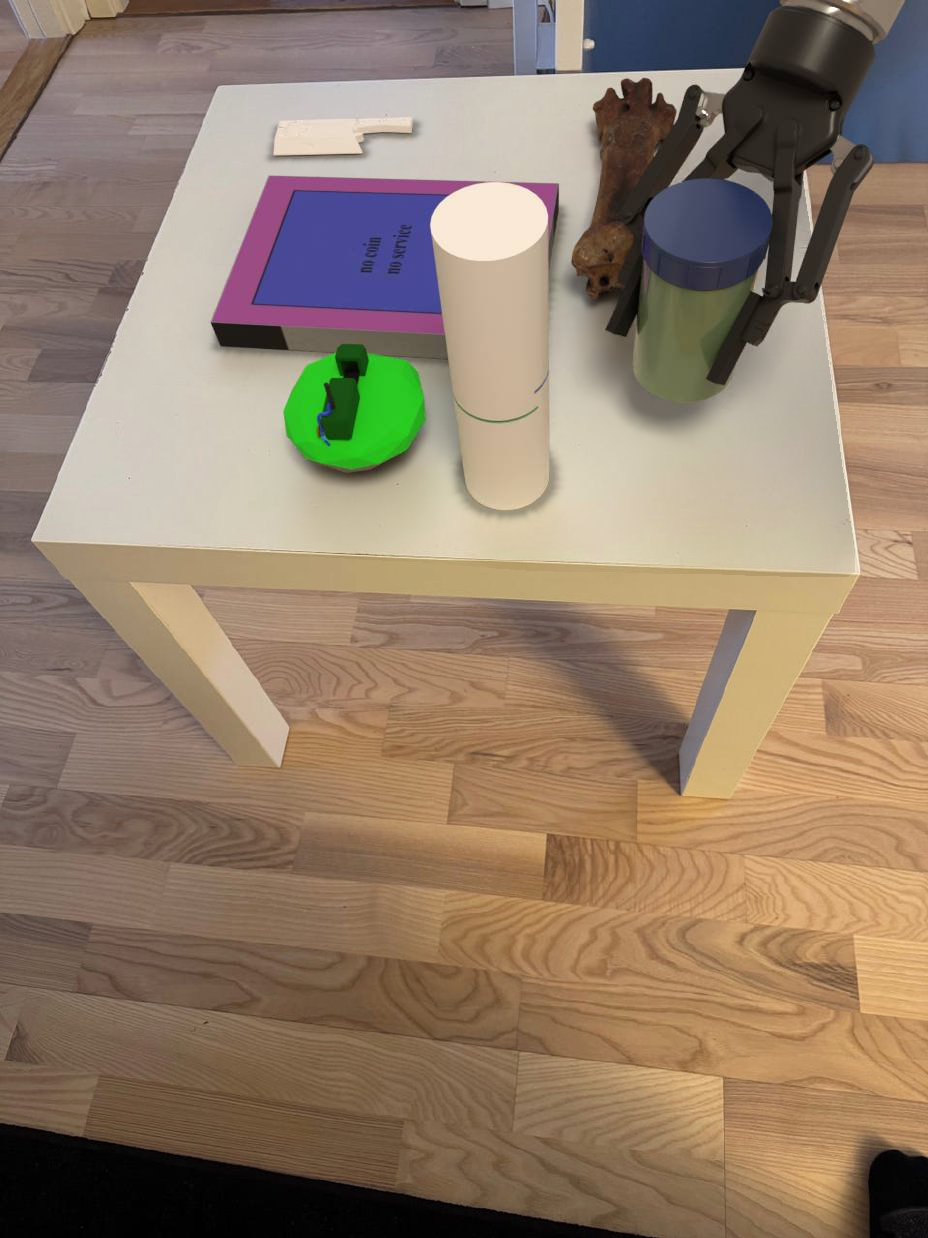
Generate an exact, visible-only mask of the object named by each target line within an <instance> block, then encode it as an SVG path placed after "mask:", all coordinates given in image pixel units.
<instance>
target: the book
mask: <svg viewBox="0 0 928 1238" xmlns="http://www.w3.org/2000/svg"><path fill="white" fill-rule="evenodd" d="M486 182H492V181H485V180H451V179H450V180H447V179H418V178H417V179H415V178H414V179H412V178H381V177H380V178H376V177H375V178H373V177H343V176H342V177H339V176H338V177H337V176H302V175H301V176H299V175H268V176H267V178H266V181H265V184H264V186H263V188H262V191H261V194H260V196H259V199H258V202H257V203H256V206H255V209H254V211H253V213H252V215H251V219H250V221H249V224H248V226H247V229H246V231H245V233H244V236H243V239H242V242H241V244H240V246H239V249H238V251H237V254H236V256H235V259H234V261H233V264H232V266H231V269H230V271H229V274H228V276H227V279H226V281H225V284H224V287H223V289H222V292H221V295H220V297H219V300H218V302H217V304H216V307H215V309H214V312H213V314H212V316H211V319H210V325H211V327H212V330H213V332H214V334H215V337H216V339H217V341H218V344H219V346H220V347H229V348H244V349H245V348H248V349H262V350H263V349H266V350H281V351H295V352H296V351H298V352H314V353H315V352H316V353H331V354H334V353H336V351H337V348H338V347H339V346H340V345H341V344H363V346H364V347H365V348H366V351H367V353H369V354H376V355H381V356H387V357H405V358H422V359H439V360H448V353H447V346H446V338H445V331H444V323H443V316H442V309H441V301H440V294H439V286H438V279H437V272H436V264H435V257H434V249H433V242H432V235H431V227H430V223H431V217H432V215H433V213H434V211H435V209H436V208H437V206H438V205H439V204H440V203H441V202H442V201H443V200H444V199H445V198H446V197H448V196H449V195H451V194H452V193H454V192H455V191H458V190H460V189H462V188H464V187H468V186H471V185H474V184H480V183H486ZM501 182H502V183H510V184H514V185H518V186H521V187H523V188H526V189H528V190H530V191H531V192H533V193H534V194H536V195H537V196H538V197H539V198H540V199H541V200H542V202H543V203H544V205H545V207H546V209H547V213H548V273H550V265H551V259H552V253H553V247H554V242H555V235H556V229H557V224H558V223H557V222H558V217H559V212H560V211H559V210H560V183H559V182H527V181H526V182H524V181H523V182H522V181H501Z"/></svg>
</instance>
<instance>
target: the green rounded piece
mask: <svg viewBox="0 0 928 1238" xmlns="http://www.w3.org/2000/svg"><path fill="white" fill-rule="evenodd" d="M282 414H283V420H284V426H285V433H286V436H287V438H288V439H289V440H290V442H291V443H292V444H293V445H294V446H295V447H296V449H297V450H298V451H299V452H300V453H301V455H302V456H303V457H304V458H305V459H306V460H307V461H311V462H313V463H317V464H320V465H323V466H326V467H328V468H331V469H333V470H337V471H339V472H342V473H346V474H347V473H355V472H363V471H371V470H373V469H374V468H376V467H378V466H380V465H381V464H384V463H385V462H387V461H389V460H391V459H393V458H395V457H396V456H399V455H400V454H402V453H404V452H406V451H408V449H409V447H410V446H411V445H412V442H413V441H414V439H415V438H416V437H417V435H418V433H419V432H420V430H421V428H422V427H423V425H424V424H425V422H426V406H425V396H424V391H423V387H422V383H421V379H420V374H419V371H418V369H416V368H415V367H414V365H412V364H411V363H410V362H409V361H408V360H407V359H403V358H398V357H393V356H384V355H376V354H369V353H367V351H366V348H365V347H364V346H363V344H341V345H340V346H339V347H338V348H337V351H336V353H331V354H329V355H327V356H325V357H322V358H320V359H317V360H315V361H313V362H310V363H308V364H306V365H305V367H304V369H303V371H302V372H301V374H300V376H299V377H298V379H297V380H296V382H295V384H294V386H293V387H292V389H291V391H290V394H289V397H288V398H287V401H286V403H285V405H284V408H283V410H282Z"/></svg>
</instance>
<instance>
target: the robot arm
mask: <svg viewBox="0 0 928 1238" xmlns="http://www.w3.org/2000/svg"><path fill="white" fill-rule="evenodd" d="M905 2H906V0H779V4H780V5H781V6H778V7H776V8H775V9H773V10H771V11H770V12H769V14H768V16H767V18H766V20H765V23H764V25H763V27H762V29H761V31H760V34H759V36H758V38H757V40H756V42H755V44H754V46H753V48H752V50H751V53H750V55H749V57H748V59H747V61H746V64H745V67H744V69H743V72H742V73H741V76H740V77H739V79H738V81H736V83H735V84H734V85H733V86H732V87H731V88H730V89H729V90H728V91H727V92H726V93H722V92H714V91H706V90H704V89H703V88H702V87H701V86H700V85H698V84H691V85H689V86H688V87H687V88H686V90H685V91H684V95H683V98H682V101H681V106H680V109H679V113H678V115H677V118H676V120H675V121H674V125H673V127H672V129H671V130H670V132H669V133H668V135H667V137H666V138H665V140H664V141H663V142H661V144H660V146H659V148H658V149H657V150H656V153H654V157H653V159H652V160H651V162H650V164H649V165H648V167H647V168H646V170H645V172H644V173H643V175H642V176H641V178H640V180H639V181H638V183H637V184H636V186H635V188H634V189H633V191H632V192H631V194H630V195H629V197H628V199H627V200H626V202H625V203H624V205H623V207H622V208H621V210H620V212H619V220H620V221H621V222H622V223H624V224H625V225H626V226H627V228H628V229H629V230H630V231H631V232H632V234H633V238H634V239H633V243H632V246H631V248H630V250H629V252H628V255H627V257H626V259H625V262H624V263H623V266H622V268H621V270H620V272H619V274H618V283H620V284H622V285H624V286H625V288H624V290H622V292H621V294H620V297H619V298H618V301H617V303H616V305H615V307H614V309H613V312H612V314H611V316H610V318H609V321H608V322H607V325H606V327H605V331H606V332H608V333H611V334H612V335H615V336H619V337H623V338H627V336H628V334H629V332H630V330H631V329H632V326H633V324H634V321H635V320H636V318H637V311H638V302H639V292H640V282H641V272H642V263H643V255H642V235H643V225H644V216H645V212H646V209H647V207H648V205H649V204H650V202H651V201H652V200H653V198H654V197H655V196H656V195H658V194H659V193H660V192H661V191H663V190H664V189H666V188H668V187H670V186H671V184H672V182H673V181H674V179H675V177H676V176H677V174H678V173H679V171H680V170H681V169H682V167H683V165H684V163H685V162H686V161H687V160H688V157H690V155H691V153H692V151H693V150H694V149H695V146H696V145H697V143H698V142H699V140H700V138H701V136H702V134H703V131H704V129H705V128H709V127H710V126H712V124H713V122H714V121H715V119H716V118H717V117H718V116H720V115H722V122H723V133H724V134H723V135H722V136H721V137H720V138H719V139H718V140H717V141H716V142H715V143H714V144H713V145H712V146H711V148H709V149H708V151H707V153H706V154H705V157H704V158H703V160H702V161H700V163H699V164H697V166H696V167H694V169H692V171H691V172H690V173H689V174H688V175H687V176H686V177H685V178H684V179H683V180H682V181H681V182H683V181H687V180H693V179H701V178H713V179H722V180H727V179H728V178H729V179H730V177H732V176H733V175H734V174H735V173H736V172H737V171H738V170H741V171H743V172H745V173H748V174H749V173H750V174H760V175H761V176H762V177H764V178H765V179H766V180H767V181H768V182H771V183H773V184H772V190H773V199H772V210H771V214H772V220H773V223H772V229H771V234H770V242H769V246H768V250H767V257H766V258H767V259H766V269H765V277H764V278H765V280H764V287H761V292H762V295H761V294H759V293H756V292H752V291H751V292H750V294H749V296H748V298H747V300H746V302H745V304H744V305H743V307H742V309H741V311H740V313H739V315H738V317H737V319H736V321H735V323H734V325H733V327H732V329H731V331H730V333H729V335H728V337H727V339H726V341H725V342H724V344H723V346H722V348H721V350H720V352H719V354H718V356H717V358H716V360H715V362H714V364H713V366H712V368H711V370H710V372H709V374H708V376H707V377H706V379H707V380H709V381H711V382H713V383H715V384H720V385H725V384H726V382H727V380H728V378H729V376H730V374H731V372H732V370H733V369H734V367H735V365H736V366H737V363H738V361H739V359H740V357H741V355H742V353H743V351H744V350H745V348H746V346H747V344H749V345H752V346H754V347H759V346H760V345H761V344H762V343H763V342H764V340H765V338H766V336H767V334H768V333H769V331H770V329H771V327H772V325H773V324H774V322H775V320H776V318H777V316H778V314H779V312H780V311H781V309H782V307H783V306H786V304H791V303H794V304H795V303H796V304H805V305H806V304H807V305H810V304H812V303H813V302H815V301H816V299H817V297H818V295H819V292H820V289H821V287H822V283H823V281H824V278H825V275H826V272H827V270H828V268H829V264H830V261H831V259H832V255H833V253H834V250H835V248H836V245H837V241H838V238H839V236H840V234H841V230H842V227H843V225H844V222H845V219H846V216H847V213H848V211H849V207H850V205H851V201H852V199H853V196H854V194H855V192H856V190H857V189H858V187H859V186H860V185H861V184H862V182H863V180H864V179H865V178H866V177H867V176H868V174H869V173H870V172H871V170H872V169H873V166H874V163H875V160H874V157H873V155H872V153H871V151H870V149H869V147H868V145H866V144H863V143H860V144H856V143H854V142H852V141H851V140H849V139H847V138H846V137H845V136H843V133H844V132H843V129H844V128H843V127H844V123H845V122H844V121H845V119H846V116H847V114H848V112H849V111H850V109H851V107H852V105H853V103H854V101H855V99H856V97H857V95H858V93H859V92H860V89H861V87H862V86H863V83H864V81H865V80H866V78H867V76H868V74H869V72H870V70H871V68H872V66H873V64H874V62H875V60H876V57H877V56H876V49H875V46H874V45H876V44H879V43H882V42H883V41H885V39H886V38H887V36H888V34H889V32H890V31H891V29H892V27H893V26H894V22H895V21H896V19H897V18H898V15H899V13H900V11H901V10H902V7H903V5H904V4H905ZM830 154H832V155H833V158H832V161H831V164H830V167H829V168H830V171H831V173H832V177H831V178H830V179H831V180H830V181H829V184H828V186H827V190H826V192H825V195H824V198H823V200H822V203H821V206H820V209H819V212H818V214H817V215H818V216H817V218H816V221H815V224H814V227H813V230H812V232H811V235H810V238H809V241H808V244H807V247H806V250H805V253H804V256H803V259H802V262H801V265H800V267H799V271H798V272H797V276H796V279H795V281H792V273H793V264H794V263H793V262H794V253H795V244H796V236H797V228H798V227H797V226H798V217H799V216H798V215H799V208H800V207H799V206H800V200H801V198H802V192H803V184H804V176H805V175H804V173H805V171H806V170H808V169H809V168H811V167H813V166H814V165H815V164H817V163H818V162H820V161H822V160H823V159H824V158H826V157H827V156H829V155H830ZM735 368H736V367H735Z"/></svg>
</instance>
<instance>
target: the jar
mask: <svg viewBox="0 0 928 1238" xmlns="http://www.w3.org/2000/svg"><path fill="white" fill-rule="evenodd" d="M759 271H760V267H759V268H758V270H757V271H756V272H755V273H754V274H753V275H752V276H750V277H749V278H748V279H746V280H744V281H742V282H740V283H738V284H736V285H733V286H730V287H727V288H722V289H716V290H693V289H687V288H683V287H679V286H676V285H673V284H671V283H669V282H667V281H665V280H663V279H661V278H660V277H658V276H657V275H656V274H655V273H654V272H652V270H651V269H650V268H649V267H648V266H647V264H646V262H645V260H644V258H643V263H642V272H641V282H640V292H639V302H638V311H637V315H636V321H635V322H636V323H635V333H634V342H633V351H632V360H631V361H632V363H631V364H632V365H631V367H632V371H633V374H634V376H635V379H636V380H637V382H638V383H639V384H640V385H641V387H642V388H644V389H645V390H646V391H647V392H648V393H650V394H652V395H653V396H655V397H657V398H659V399H662V400H665V401H669V402H673V403H674V402H675V403H697V402H701V401H705V400H707V399H710V398H713V397H714V396H716V395H718V394H720V393H721V392H722V391H724V390H725V388H726V387H727V386H729V384H730V383H731V381H732V379H733V377H734V374H735V371H736V366H737V364H736V365H735V367H734V369H733V370H732V372H731V374H730V376H729V378H728V380H727V382H726V384H725V385H720V384H715V383H713V382H711V381H709V380H707V379H706V377H707V376H708V374H709V372H710V370H711V368H712V366H713V364H714V362H715V360H716V358H717V356H718V354H719V352H720V350H721V348H722V346H723V344H724V342H725V341H726V339H727V337H728V335H729V333H730V331H731V329H732V327H733V325H734V323H735V321H736V319H737V317H738V315H739V313H740V311H741V309H742V307H743V305H744V304H745V302H746V300H747V298H748V296H749V294H750V292H751V291H752V292H754V291H755V287H756V283H757V278H758V274H759ZM754 293H755V292H754Z"/></svg>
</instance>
